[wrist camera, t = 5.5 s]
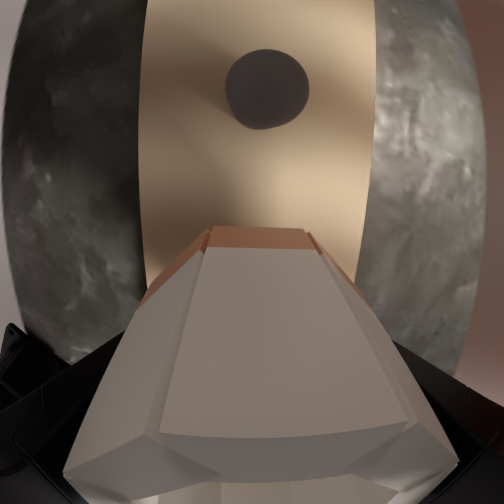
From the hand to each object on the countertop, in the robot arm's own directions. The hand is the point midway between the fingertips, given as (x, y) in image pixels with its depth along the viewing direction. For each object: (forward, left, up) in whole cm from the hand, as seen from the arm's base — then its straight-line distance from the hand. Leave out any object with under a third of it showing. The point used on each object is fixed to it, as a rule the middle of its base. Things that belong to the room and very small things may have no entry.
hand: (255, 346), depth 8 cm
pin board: (+5, +4, -6) cm, 9 cm away
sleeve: (0, 0, -1) cm, 1 cm away
